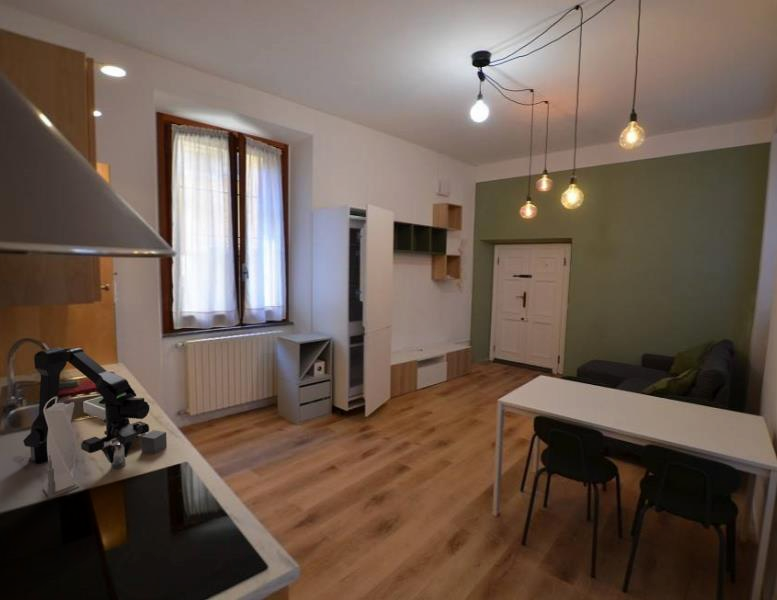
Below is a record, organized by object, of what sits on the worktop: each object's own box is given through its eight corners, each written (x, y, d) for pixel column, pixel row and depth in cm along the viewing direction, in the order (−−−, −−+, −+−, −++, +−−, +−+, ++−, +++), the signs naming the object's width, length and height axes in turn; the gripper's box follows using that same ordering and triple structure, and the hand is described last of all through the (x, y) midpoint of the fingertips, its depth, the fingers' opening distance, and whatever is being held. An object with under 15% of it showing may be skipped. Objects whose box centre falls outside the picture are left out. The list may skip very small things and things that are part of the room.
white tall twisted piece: (42, 487, 119) (36, 399, 116) (74, 476, 126) (69, 392, 123) (49, 498, 114) (43, 406, 111) (83, 485, 121) (78, 399, 118)
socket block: (123, 452, 141) (123, 442, 141) (111, 447, 145) (111, 436, 144) (146, 443, 148) (145, 433, 148) (133, 438, 152) (133, 428, 152)
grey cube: (154, 454, 141) (154, 438, 140) (141, 452, 142) (141, 436, 141) (166, 447, 146) (166, 432, 146) (154, 445, 148) (153, 430, 147)
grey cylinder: (115, 470, 130) (114, 447, 129) (108, 467, 131) (107, 444, 131) (128, 465, 133) (127, 442, 132) (121, 461, 135) (120, 440, 134)
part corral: (107, 421, 166) (106, 410, 166) (83, 412, 175) (82, 401, 175) (140, 411, 178) (140, 400, 178) (116, 402, 188) (116, 392, 187)
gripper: (97, 432, 118) (100, 480, 120) (158, 411, 135) (159, 454, 137) (79, 424, 124) (81, 470, 125) (139, 405, 140) (140, 446, 142)
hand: (118, 459), depth 132 cm, fingers closed on grey cylinder, 4 cm apart
